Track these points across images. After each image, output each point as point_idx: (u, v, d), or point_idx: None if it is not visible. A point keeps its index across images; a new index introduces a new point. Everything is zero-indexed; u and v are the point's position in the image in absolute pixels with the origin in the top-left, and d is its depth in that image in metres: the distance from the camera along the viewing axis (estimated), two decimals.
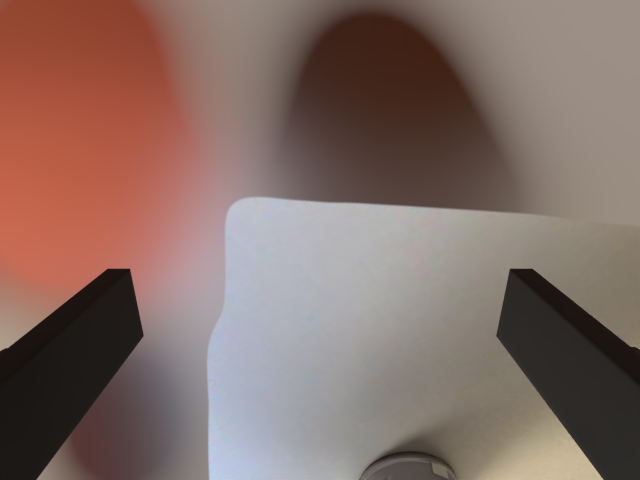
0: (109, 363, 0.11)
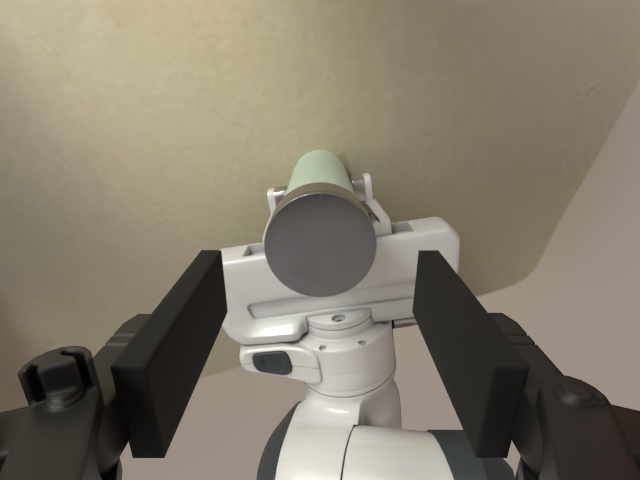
0: (212, 331, 0.13)
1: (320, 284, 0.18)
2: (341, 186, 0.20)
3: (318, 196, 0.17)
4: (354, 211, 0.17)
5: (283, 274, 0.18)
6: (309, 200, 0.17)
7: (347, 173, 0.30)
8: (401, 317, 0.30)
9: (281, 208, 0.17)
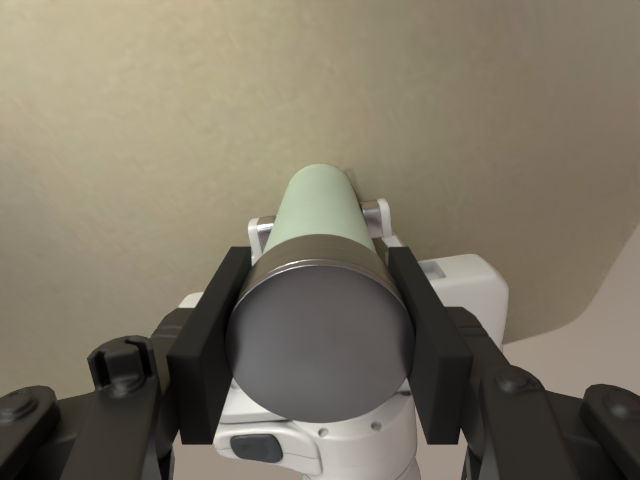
0: None
1: (320, 405, 0.11)
2: (352, 234, 0.13)
3: (316, 270, 0.10)
4: (379, 294, 0.10)
5: (258, 390, 0.11)
6: (300, 277, 0.10)
7: None
8: None
9: (251, 289, 0.10)
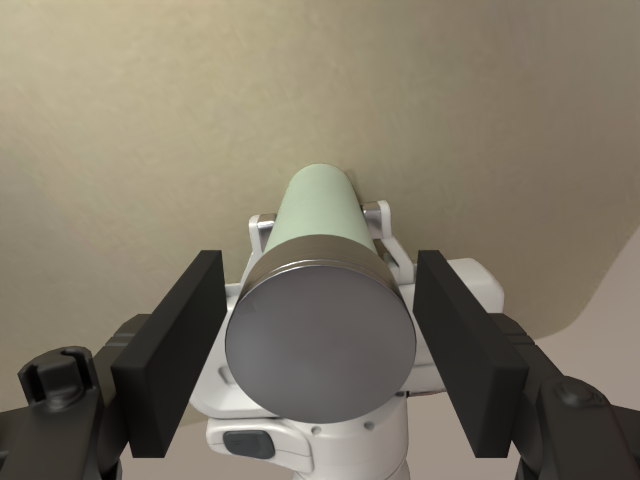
0: (212, 331, 0.13)
1: (377, 381, 0.11)
2: (355, 234, 0.13)
3: (239, 312, 0.10)
4: (292, 279, 0.10)
5: (328, 414, 0.11)
6: (238, 327, 0.10)
7: (356, 197, 0.23)
8: (420, 388, 0.23)
9: (229, 365, 0.11)
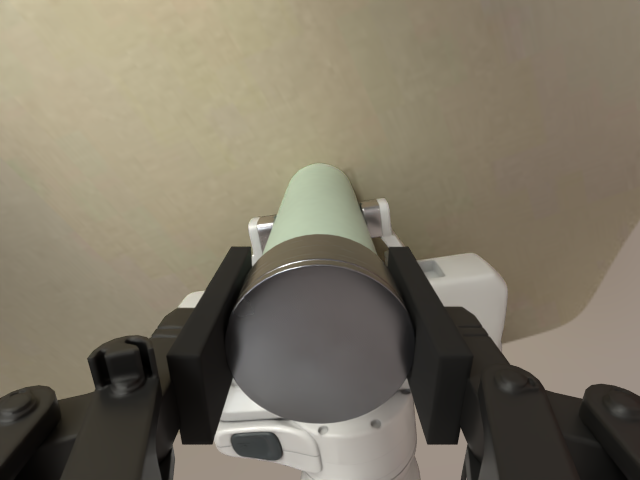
0: None
1: (378, 379, 0.11)
2: (352, 233, 0.13)
3: (237, 315, 0.10)
4: (288, 280, 0.10)
5: (330, 413, 0.11)
6: (236, 330, 0.10)
7: None
8: None
9: (230, 368, 0.11)
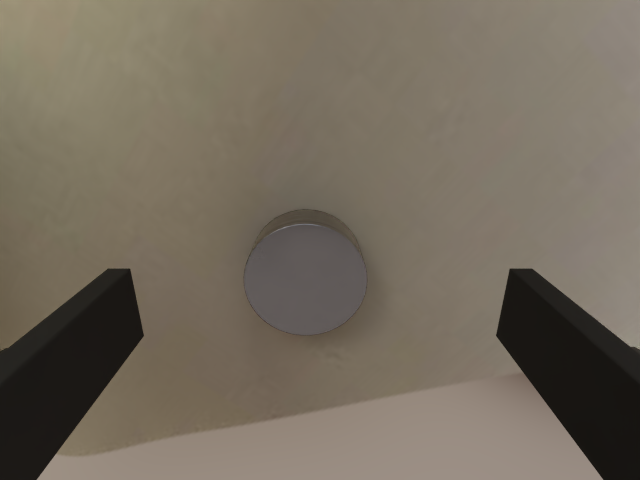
0: (109, 363, 0.11)
1: (344, 302, 0.17)
2: None
3: (253, 258, 0.16)
4: (285, 233, 0.15)
5: (313, 327, 0.17)
6: (252, 268, 0.16)
7: None
8: None
9: (247, 295, 0.16)
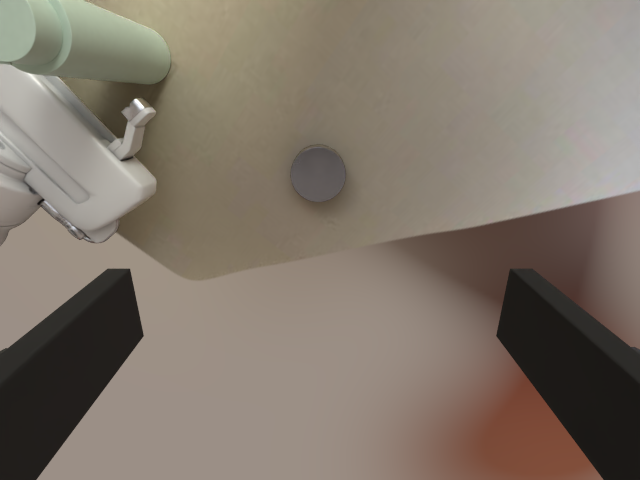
0: (109, 363, 0.11)
1: (335, 185, 0.37)
2: (82, 29, 0.22)
3: (295, 163, 0.36)
4: (309, 151, 0.35)
5: (321, 197, 0.37)
6: (294, 167, 0.36)
7: (150, 70, 0.32)
8: (47, 200, 0.31)
9: None
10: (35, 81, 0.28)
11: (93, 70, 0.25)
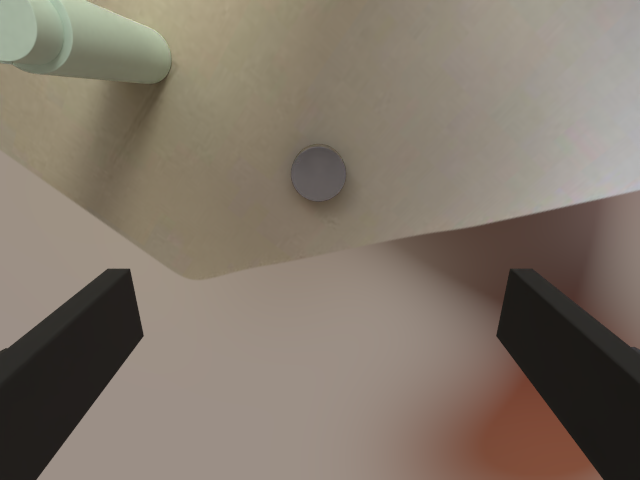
0: (109, 363, 0.11)
1: (335, 184, 0.37)
2: (83, 29, 0.22)
3: (295, 162, 0.36)
4: (310, 151, 0.35)
5: (321, 197, 0.37)
6: (295, 167, 0.36)
7: (151, 69, 0.32)
8: None
9: (292, 180, 0.37)
10: None
11: (94, 70, 0.25)
